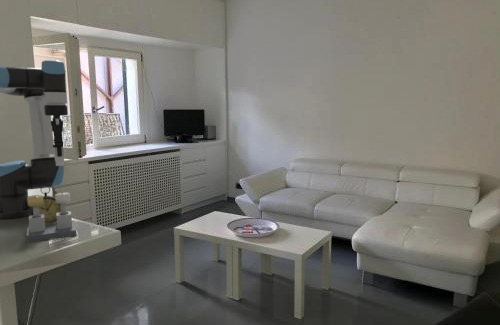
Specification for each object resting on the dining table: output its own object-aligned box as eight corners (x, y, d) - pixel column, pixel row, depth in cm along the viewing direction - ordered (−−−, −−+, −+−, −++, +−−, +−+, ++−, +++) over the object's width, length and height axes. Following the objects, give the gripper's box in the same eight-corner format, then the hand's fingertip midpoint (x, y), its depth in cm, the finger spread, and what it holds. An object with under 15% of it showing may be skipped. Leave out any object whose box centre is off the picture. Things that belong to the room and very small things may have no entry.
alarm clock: (32, 229, 153) (29, 188, 151) (32, 225, 158) (29, 185, 155) (63, 225, 158) (61, 185, 156) (62, 222, 163) (60, 183, 161)
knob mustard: (29, 217, 146) (27, 195, 145) (44, 215, 148) (42, 194, 147) (28, 220, 141) (27, 198, 140) (44, 218, 144) (42, 196, 143)
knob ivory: (56, 214, 150) (54, 193, 149) (70, 212, 152) (69, 191, 151) (56, 217, 146) (55, 195, 145) (71, 215, 148) (70, 194, 147)
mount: (27, 231, 150) (26, 213, 149) (73, 225, 158) (72, 208, 157) (26, 242, 138) (25, 222, 137) (76, 235, 145) (75, 216, 144)
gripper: (44, 104, 152) (47, 160, 155) (44, 104, 131) (48, 168, 133) (65, 104, 155) (68, 158, 158) (68, 104, 134) (72, 167, 137)
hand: (59, 163), depth 146 cm, fingers open, 12 cm apart
